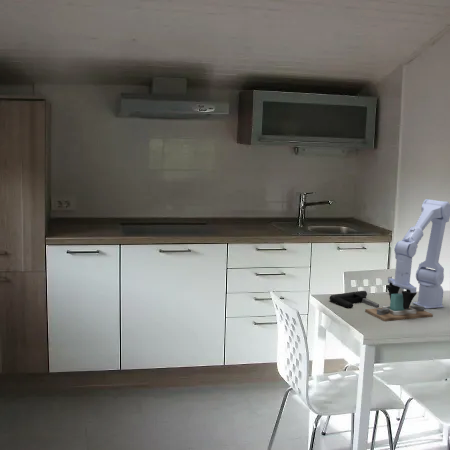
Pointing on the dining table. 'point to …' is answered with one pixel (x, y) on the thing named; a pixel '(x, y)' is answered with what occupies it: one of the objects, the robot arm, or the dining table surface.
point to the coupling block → (396, 302)
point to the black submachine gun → (352, 299)
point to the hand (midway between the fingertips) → (399, 305)
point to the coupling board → (399, 313)
